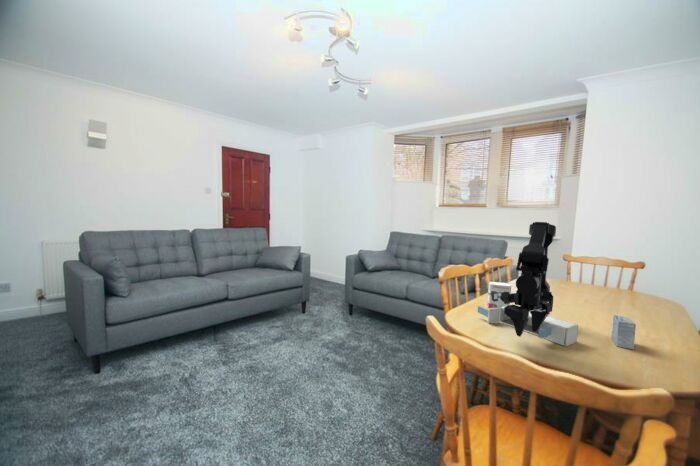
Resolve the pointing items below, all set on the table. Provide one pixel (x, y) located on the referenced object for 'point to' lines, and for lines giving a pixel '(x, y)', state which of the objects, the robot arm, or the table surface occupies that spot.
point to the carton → (569, 331)
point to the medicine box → (623, 332)
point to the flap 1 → (490, 314)
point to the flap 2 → (553, 333)
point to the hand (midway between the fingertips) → (526, 333)
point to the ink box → (497, 294)
